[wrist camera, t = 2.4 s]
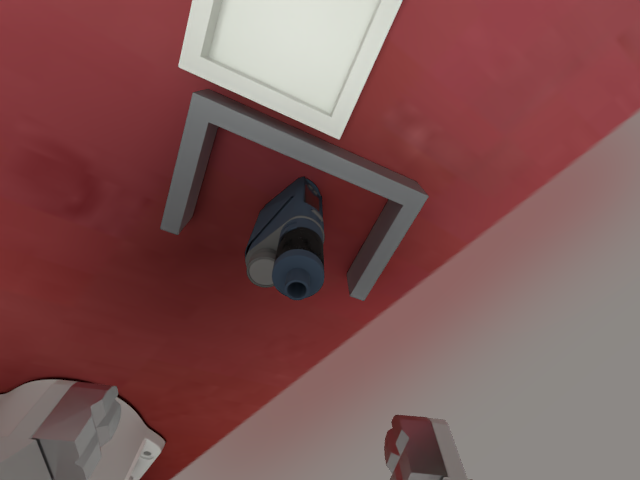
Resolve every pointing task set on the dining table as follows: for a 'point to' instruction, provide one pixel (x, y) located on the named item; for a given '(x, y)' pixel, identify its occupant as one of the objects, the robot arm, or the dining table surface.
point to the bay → (303, 147)
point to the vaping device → (289, 242)
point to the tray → (290, 53)
